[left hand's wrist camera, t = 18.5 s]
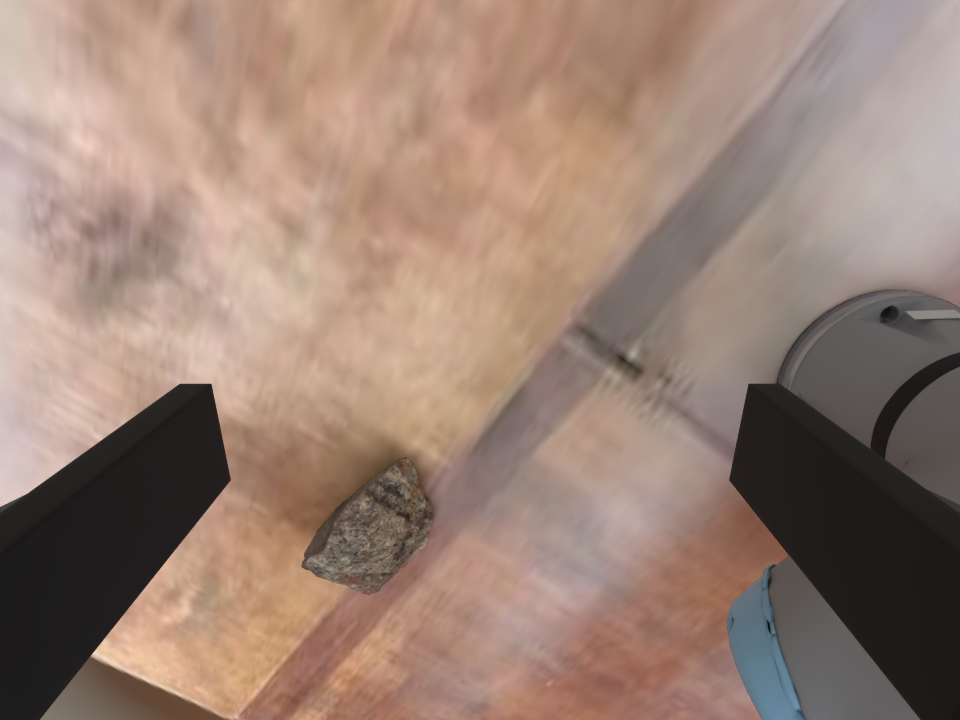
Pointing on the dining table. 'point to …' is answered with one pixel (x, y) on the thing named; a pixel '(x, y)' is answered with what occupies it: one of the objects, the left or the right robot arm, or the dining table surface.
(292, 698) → the dining table surface
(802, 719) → the left robot arm
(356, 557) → the rock
